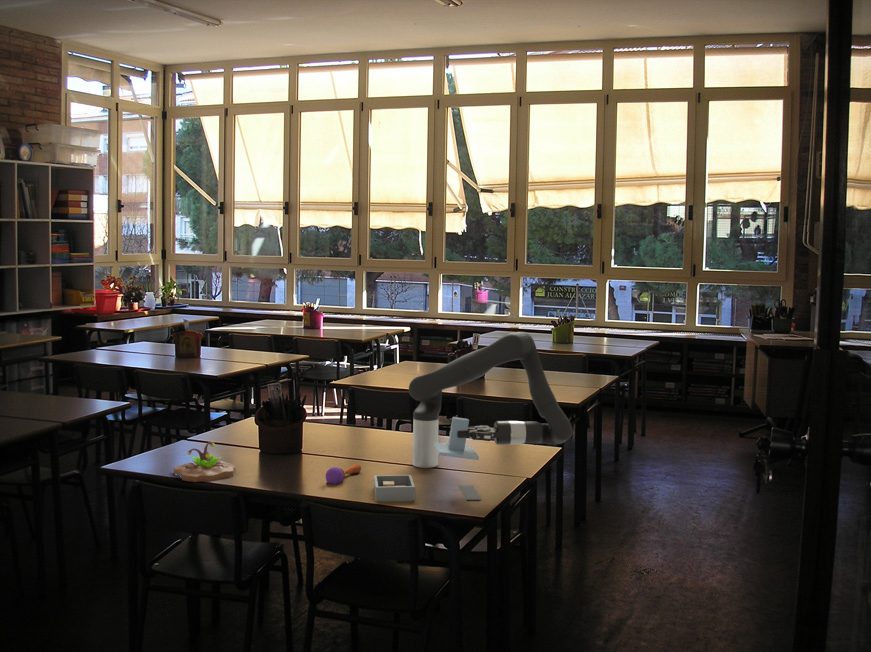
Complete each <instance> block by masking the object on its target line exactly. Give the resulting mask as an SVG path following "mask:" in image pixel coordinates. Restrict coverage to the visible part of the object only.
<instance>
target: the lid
mask: <svg viewBox="0 0 871 652" xmlns="http://www.w3.org/2000/svg"><path fill="white" fill-rule="evenodd" d="M469 422H470V419H468V418H463V417H456V416H452V419H451V425H450V430H449V438H448V443H444V442H439V441H438V442H434V447H435V449H436V451H437V453H438V456H442V457H443V456H444V457H450V458H458V459H465V460H472V461H473V460H474V461H479V459H480V457H479V454H477V453H476V451H475V450H474V448H473V446H469V445H466V441H467V438H458V437H457V432H458V431H467V430H468V428H469V425H470V423H469Z"/></svg>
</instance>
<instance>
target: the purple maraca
mask: <svg viewBox="0 0 871 652" xmlns="http://www.w3.org/2000/svg"><path fill="white" fill-rule="evenodd" d="M361 471H362V466H361V465H360V464H359V463H354V464H352V465H351V466H349V467H347V468H346V469H344V470H343V469H342V468H339V467H337V466H333V467H331V468H330V467H329V469H327V470H326V473H325V481H326V482H327V483H328V484H330V485H339V484H341V483H343V480H344V479H345V477H346V476H345V475H351V474H357V473H358V472H359V473H360V472H361ZM359 473H358V474H359Z"/></svg>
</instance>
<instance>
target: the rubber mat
mask: <svg viewBox="0 0 871 652" xmlns="http://www.w3.org/2000/svg"><path fill="white" fill-rule="evenodd" d="M458 488H459V490H460V491H461V494H462V495H463V497H464V499H465V501H466V500H481V501H482V499H481V496H480V494H479V493H478V491H477V490H476V488H475V486H474V485H471V484H470V485H466V484H465V485H464V484H463V485H462V484H461V485H458Z"/></svg>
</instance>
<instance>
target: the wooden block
mask: <svg viewBox="0 0 871 652" xmlns="http://www.w3.org/2000/svg"><path fill="white" fill-rule="evenodd" d="M388 486H394V481H383V487H388Z"/></svg>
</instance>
